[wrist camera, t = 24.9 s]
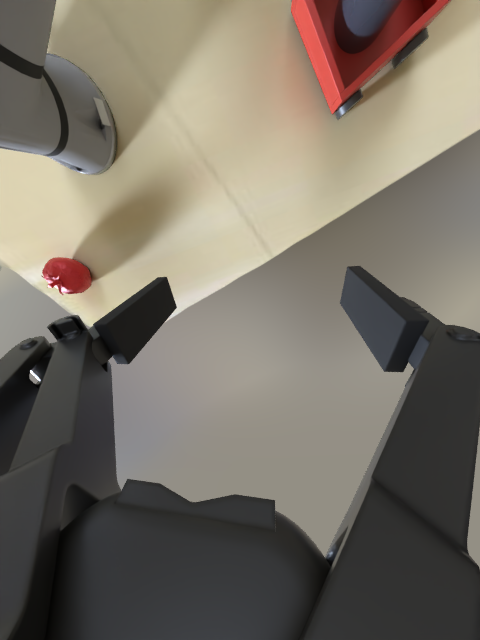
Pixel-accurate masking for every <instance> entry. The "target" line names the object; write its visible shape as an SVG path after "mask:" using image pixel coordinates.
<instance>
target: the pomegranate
mask: <svg viewBox="0 0 480 640" xmlns="http://www.w3.org/2000/svg"><path fill="white" fill-rule="evenodd" d="M42 273H43V275H44V277H43V276H42V275H41V276H42V277H43V278H44V279H46V281H47V282H48V283H49V284H48V285H49V286H48V287H51V288H53V287H56V288H58V289H59V293H60V294H62V292H63V293H68V294H74V293H82V292H84V291H85V290H87V289H88V288H89V287H90V286H91V281H92V279H91V276H90V271H89V269H88V268H87V267H86V266H84V265H83V264H81V263H80V262H78V261H76V260H74V259H69V258H52V259H51V260H49V261H48V262H47V263H46V265H45V267H44V269H43V272H42ZM48 287H47V288H48ZM61 291H62V292H61ZM62 295H63V294H62Z"/></svg>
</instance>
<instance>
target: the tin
mask: <svg viewBox="0 0 480 640" xmlns="http://www.w3.org/2000/svg"><path fill="white" fill-rule="evenodd" d="M401 1H402V0H338V3H337V7H336V11H335V17H334V33H335V38H336V41H337V44H338V45H339V47H340V48H341V49H342V50H343V51H344V52H346V53H349V54H356V53H359V52H362V51H363V50H365V49H366V48H368V47H369V46H370V45H371V44H372V43H373V42H374V41H375V40H376V38H377V37H378V36H379V34H380V33H381V31H382V30H383V28H384V27H385V25H386V24H387V22H388V21H389V19H390V18H391V16H392V15H393V13H394V12H395V10H396V9H397V7H398V6H399V4H400V3H401Z"/></svg>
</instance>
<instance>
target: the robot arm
mask: <svg viewBox="0 0 480 640" xmlns="http://www.w3.org/2000/svg"><path fill="white" fill-rule="evenodd" d="M55 4H56V0H0V148H2V149H8V150H14V151H20V152H26V153H32V154H38V155H43V156H47V157H49V158H51V159H53V160H55V161H57V162H58V163H60V164H62V165H64V166H66V167H68V168H70V169H72V170H74V171H77V172H80V173H84V174H91V175H97V174H101V173H103V172H105V171H106V170H108V168H109V167H110V166H111V165H112V163H113V161H114V158H115V155H116V148H117V136H116V129H115V124H114V120H113V117H112V114H111V111H110V109H109V106H108V104H107V102H106V100H105V98H104V96H103V95H102V93H101V91H100V90H99V88H98V87H97V86H96V84H95V83H94V82H93V81H92V79H91V78H90V77H89V76H88V75H87V74H86V73H85V72H84V71H82V70H81V69H80V68H78V67H77V66H75V65H74V64H72V63H71V62H69V61H68V60H66V59H64V58H61V57H59V56H57V55H54V54H48V53H47V48H48V43H49V37H50V32H51V26H52V21H53V15H54V10H55ZM340 304H341V306H342V307H343V309H344V310H345V312H346V313H347V315H348V316H349V318H350V319H351V321H352V322H353V324H354V326H355V327H356V329H357V330H358V332H359V333H360V335H361V336H362V338H363V339H364V341H365V343H366V344H367V346H368V347H369V349H370V350H371V352H372V353H373V355H374V357H375V358H376V360H377V361H378V363H379V364H380V366H381V367H382V369H383V370H384V372H403V371H404V369H405V368H406V366H407V364H408V362H409V363H410V364H411V366H412V367H413V368H414V370H413V372H412V374H411V376H410V378H409V380H408V381H407V383H406V385H405V389H404V391H403V393H402V395H401V398H400V400H399V402H398V404H397V406H396V408H395V411H394V413H393V415H392V417H391V419H390V421H389V423H388V426H387V428H386V430H385V432H384V434H383V436H382V438H381V440H380V443H379V445H378V447H377V449H376V451H375V453H374V456H373V458H372V460H371V462H370V464H369V466H368V468H367V471H366V473H365V475H364V477H363V479H362V481H361V483H360V486H359V488H358V490H357V492H356V494H355V496H354V498H353V501H352V503H351V505H350V507H349V509H348V511H347V514H346V516H345V517H344V519H343V521H342V523H341V525H340V527H339V529H338V531H337V533H336V535H335V537H334V539H333V541H332V543H331V545H330V548H329V550H328V552H327V554H326V556H325V557H324V556H323V554H322V553H321V551H320V550H319V549H318V547H317V546H316V544H315V543H314V542H313V541H312V540H311V539H310V538H309V536H307V534H306V533H305V532H304V531H303V530H302V529H301V528H300V527H299V526H298V525H296V524H295V523H294V522H293V521H291V520H290V519H289V518H287V517H286V516H284V515H283V514H281V513H279V512H277V511H275V500H269V499H262V498H256V497H249V496H242V495H230V496H225V497H220V498H216V499H210V500H206V501H201V502H190V501H188V500H186V499H185V498H183V497H181V496H180V495H178V494H176V493H175V492H173V491H171V490H169V489H168V488H166V487H165V486H163V485H161V484H159V483H152V482H145V481H137V480H131V479H127V481H126V483H125V485H124V487H123V489H122V491H121V489H120V487H119V485H118V482H117V476H116V456H115V436H114V416H113V395H112V375H111V365H110V363H109V361H108V360H109V359H110V358H111V357H112V356H113V358H114V359H115V361H116V363H117V364H129V363H130V362H131V361H132V360H133V359H134V358H135V356H136V355H137V354H138V353H139V352H140V351H141V349H142V348H143V347H144V346H145V344H146V343H147V342H148V341H149V340H150V339H151V338H152V336H153V335H154V334H155V333H156V332H157V330H158V329H159V328H160V327H161V326H162V324H163V323H164V322H165V321H166V320H167V319H168V317H169V316H170V315H171V314H172V313H173V311H174V310H175V309H176V308H177V307H176V304H175V301H174V298H173V295H172V292H171V288H170V285H169V282H168V279H167V277H158V278H157V279H155V280H154V281H152V282H151V283H150V284H148V285H147V286H145V287H144V288H143V289H141V290H140V291H139V292H137V293H136V294H134V295H133V296H132V297H130V298H129V299H127V300H126V301H125V302H123V303H122V304H120V305H119V306H118V307H116V308H115V309H114V310H112V311H111V312H109V313H108V314H107V315H105V316H104V317H102V318H101V319H100V320H98V321H97V322H95V323H94V324H93V327H91V328H90V329H89V330H88V329H87V328H86V326H85V325H84V323H83V322H82V320H81V319H80V317H79V316H77V315H72V316H67V317H64V318H61V319H59V320H57V321H54V322H53V323H51V324H50V325H49V326H48V327H47V328H48V329H49V330H50V332H51V333H52V334H53V335H54V336H55V338H56V339H57V340H58V341H57V342H55V343H49V342H48V341H47V339H46V338H45V337H42V336H40V337H34V338H29V339H27V340H24V341H22V342H21V343H20V344H18V345H17V346H15V347H14V348H13V349H11V350H10V351H9V352H8V353H7V354H6V355H5V356H4V357H2V358H1V359H0V640H480V569H479V566H478V565H477V564H476V563H475V561H474V560H473V559H472V558H471V557H470V556H469V553H468V550H467V536H468V527H469V517H470V509H471V500H472V491H473V482H474V472H475V463H476V454H477V445H478V436H479V427H480V333H478V332H476V331H474V330H471V329H468V328H465V327H460V326H455V325H445V324H443V323H442V322H441V321H439V320H438V319H437V318H435V317H434V316H433V315H431V314H430V313H427V311H426V310H424V309H423V308H421V307H420V306H419V305H418V304H416V303H415V302H413V301H411V300H408V299H406V298H404V297H399V296H398V295H396V294H395V293H394V292H392V291H391V290H390V289H389V288H387V287H386V286H385V285H384V284H382V283H381V282H379V281H378V280H377V279H376V278H375V277H373V276H372V275H371V274H369V273H368V272H367V271H366V270H364V269H363V268H362V267H360V266H352V267H347V271H346V276H345V281H344V286H343V291H342V297H341V301H340ZM30 372H31V373H32V374H33V375H34V376H35V377H36V378H37V379H38V380H39V381H38V382H37V384H34V383H33V382H32V381H31V380H30V379H29V374H30ZM275 526H276V532H275Z"/></svg>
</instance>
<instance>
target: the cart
mask: <svg viewBox="0 0 480 640" xmlns="http://www.w3.org/2000/svg"><path fill="white" fill-rule="evenodd" d="M450 1H451V0H402V1H401V3H400V4H399V6H398V7H397V9H396V10H395V12H394V13H393V15H392V16H391V18H390V19H389V21H388V22H387V24H386V25H385V27H384V28H383V30H382V31H381V33H380V34H379V36H378V37H377V38H376V40H375V41H374V42H373V43H372V44H371V45H370V46H369V47H368V48H366V49H365V50H363V51H362V52H359V53H356V54H349V53H346V52H344V51H343V50H342V49H341V48H340V47H339V45H338V44H337V41H336V38H335V33H334V17H335V11H336V7H337V3H338V0H291V2H292V6H291V12H292V15H293V17H294V20H295V22H296V25H297V27H298V30H299V32H300V35H301V37H302V40H303V43H304V45H305V48H306V50H307V53H308V55H309V58H310V60H311V63H312V65H313V68H314V70H315V73H316V75H317V78H318V80H319V83H320V85H321V88H322V91H323V93H324V96H325V98H326V101H327V103H328V106H329V108H330V111H331V113H332V114H333V113H334V112H336V113H335V115H336V117H337V120H339V119H340V118H341V117H342V116H343V115H345V114H346V113H347V112H348V111H349V110H350V109H351V108H352V107H353V106H354V105H355V104H356V103H357V102H358V101H359V100H360V99H361V98H362V97H363V95H362V92H361V89H360V88H361V87H362V86H364V85H365V84H366V83H367V82H368V81H369V80H370V79H371V78H372V77H373V76H374V75H375V74H376V73H377V72H379V71H380V70H381V69H382V68H383V67H384V66H385V65H386V64H387V63H388V62H389V61H390V60H391V59H393V58H394V57H395V56H396V55H397V54H398V53H399V54H398V55H397V56H396V57H395V58H394V59H393V60H392V65H393V68H394V69H395V68H396V67H397V66H399V65H400V64H401V63H402V62H403V61H404V60H405V59H406V58H408V57H409V56H410V55H411V54H412V53H413V52H414V51H415V50H416V49H417V48H418V47H419V46H420V45H421V44H422V43H423V42H424V41H425V40H426V39H427V38H428V31H427V28H426V27H427V26H428V25H429V24H430V23H431V22H432V21H433V20H434V19H435V17H436V16H437V15H438V14H439V13H440V12H441V11H442V10H443V9H444V8H445V7H446V6H447V4H448V3H449V2H450ZM405 46H406V47H405ZM404 47H405V48H404ZM359 89H360V90H359Z"/></svg>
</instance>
